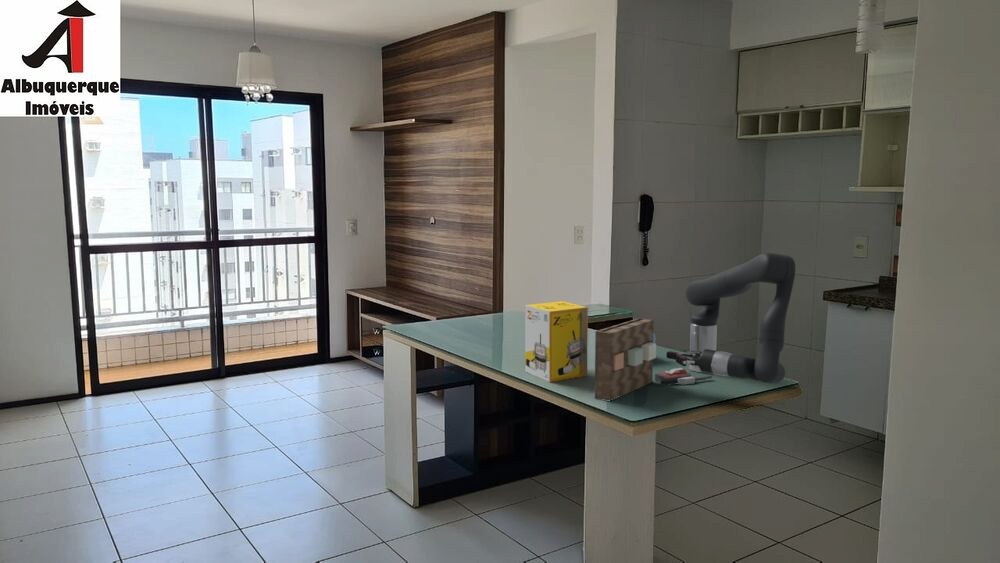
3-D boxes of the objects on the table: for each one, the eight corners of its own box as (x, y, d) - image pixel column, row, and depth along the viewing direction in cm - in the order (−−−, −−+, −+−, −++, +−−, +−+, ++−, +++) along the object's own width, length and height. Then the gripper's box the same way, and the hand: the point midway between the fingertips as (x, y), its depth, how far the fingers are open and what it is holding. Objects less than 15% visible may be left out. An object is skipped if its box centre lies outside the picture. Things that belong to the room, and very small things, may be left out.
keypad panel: (638, 379, 250) (639, 317, 247) (652, 382, 247) (653, 319, 243) (594, 398, 229) (595, 331, 226) (609, 401, 225) (610, 333, 222)
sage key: (630, 361, 238) (631, 346, 237) (642, 363, 235) (643, 348, 234) (623, 364, 234) (623, 349, 233) (635, 366, 231) (635, 351, 230)
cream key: (644, 355, 245) (644, 341, 244) (655, 357, 242) (656, 343, 241) (636, 358, 241) (637, 344, 240) (648, 360, 238) (649, 346, 237)
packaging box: (587, 375, 255) (587, 307, 252) (549, 382, 247) (549, 311, 244) (561, 365, 269) (561, 300, 266) (525, 371, 261) (524, 304, 258)
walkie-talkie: (665, 388, 240) (713, 381, 247) (665, 375, 239) (714, 369, 247) (650, 381, 248) (697, 375, 256) (650, 369, 248) (698, 363, 255)
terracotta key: (611, 365, 232) (611, 350, 232) (623, 367, 229) (623, 352, 229) (603, 368, 229) (603, 353, 228) (615, 370, 226) (615, 355, 225)
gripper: (726, 347, 229) (676, 339, 240) (709, 355, 219) (658, 347, 230) (725, 370, 230) (676, 361, 241) (708, 378, 220) (657, 369, 232)
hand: (667, 354), depth 236 cm, fingers closed
